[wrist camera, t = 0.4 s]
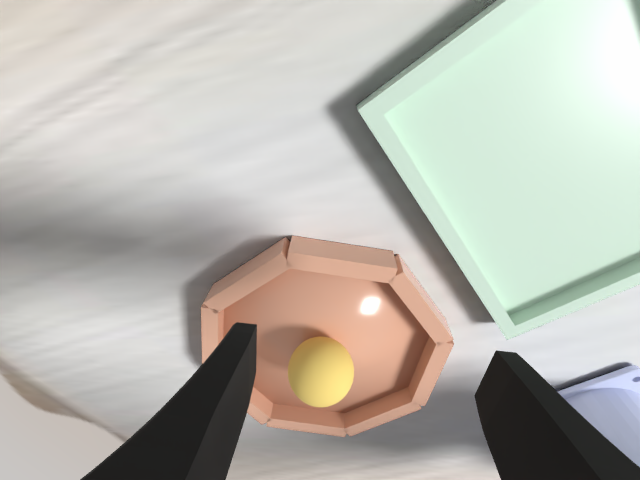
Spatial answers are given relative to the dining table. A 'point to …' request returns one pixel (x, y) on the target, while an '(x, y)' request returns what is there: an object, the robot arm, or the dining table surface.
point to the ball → (320, 371)
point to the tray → (526, 152)
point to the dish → (332, 331)
